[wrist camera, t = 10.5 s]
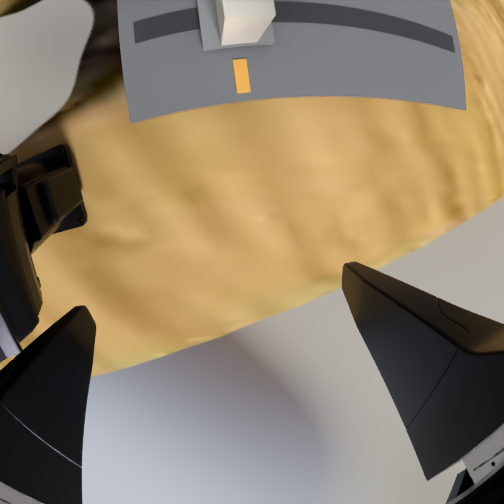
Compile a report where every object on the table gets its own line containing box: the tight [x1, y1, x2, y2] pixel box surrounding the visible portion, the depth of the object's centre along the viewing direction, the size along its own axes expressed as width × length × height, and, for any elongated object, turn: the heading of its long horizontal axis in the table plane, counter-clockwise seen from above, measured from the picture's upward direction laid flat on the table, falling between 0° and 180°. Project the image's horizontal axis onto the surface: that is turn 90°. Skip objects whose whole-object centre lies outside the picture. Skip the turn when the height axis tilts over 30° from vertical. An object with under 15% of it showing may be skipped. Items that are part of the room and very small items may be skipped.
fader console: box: [117, 0, 466, 123], centre depth 13 cm, size 26×12×2 cm, turn 97°
